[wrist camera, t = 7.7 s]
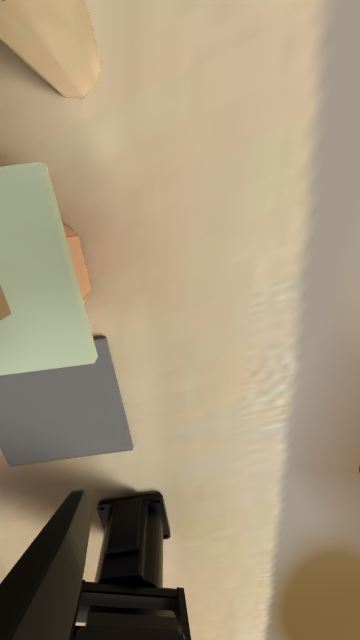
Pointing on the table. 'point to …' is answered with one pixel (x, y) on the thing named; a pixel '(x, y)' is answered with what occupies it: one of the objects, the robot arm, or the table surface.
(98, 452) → the mat
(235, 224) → the table surface
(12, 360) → the cover board
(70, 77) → the milkshake
